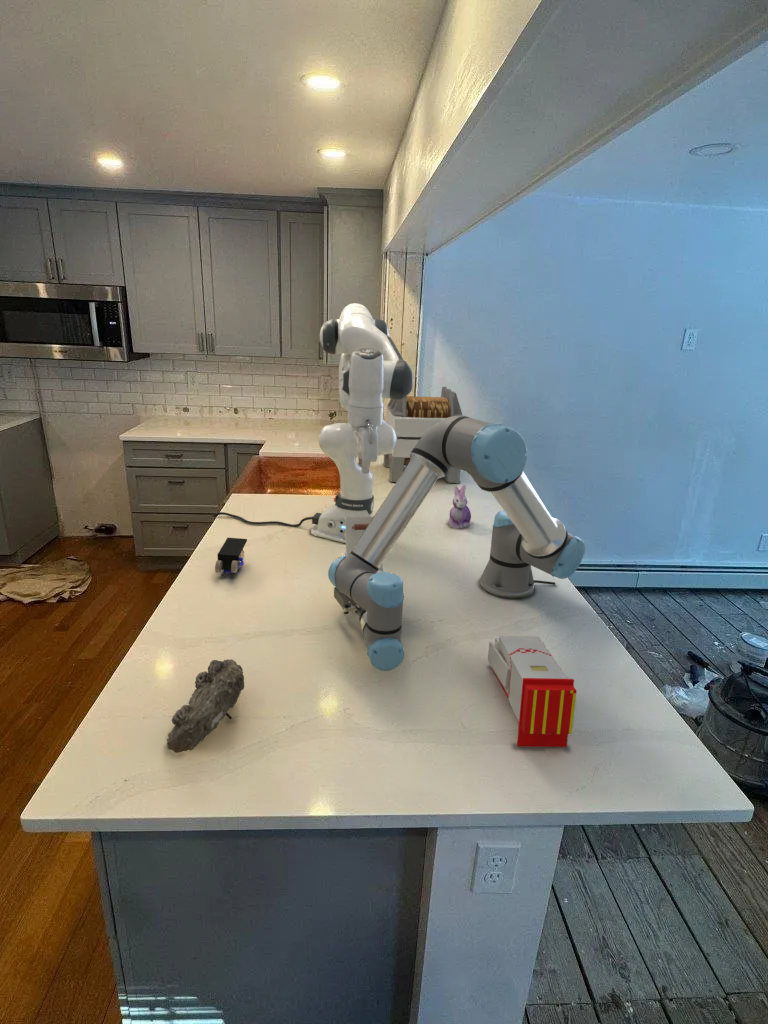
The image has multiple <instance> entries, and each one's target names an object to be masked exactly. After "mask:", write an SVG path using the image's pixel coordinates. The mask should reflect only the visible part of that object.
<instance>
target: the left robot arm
mask: <svg viewBox="0 0 768 1024" xmlns="http://www.w3.org/2000/svg"><path fill="white" fill-rule="evenodd" d="M319 343H320V345H321V347H322V350H323V351H324V352H325V353H327V354H328V355H329V354H330V355H336V354H337V355H338V354H339V355H340V356H339V357H340V358H339V366H338V393H339V394H338V395H339V396H338V397H339V405H340V407H341V408H342V409H343V410H344V411H346V412H347V422H337V423H330V424H327V425H323V427H322V429H321V430H320V432H319V435H318V445H319V447H320V450H321V451H322V452H323V454H325V455H326V456H327V457H329V458H330V459H331V460H332V462H333V463H334V464H335V466H336V467H337V470H338V474H339V483H340V484H339V485H340V488H339V489H340V490H339V491H338V492H337V494H336V495H335V496H334V497H333V502H334V504H333V505H331V506H329V507H328V508H326V509H325V510H323V512H316V513H315V514H314V515H313V516H307V517H305V518H302V519H300V522H299V523H297V524H290V523H287V522H283V521H279V520H277V521H276V520H275V521H274V520H271V521H251V520H247V519H245V518H243V517H241V516H239V515H236V514H232V513H229V512H224V511H221V512H216V513H215V514H214V515H213V516H212V517H213V518H216V517H217V516H220V515H221V516H222V515H224V516H227V517H231V518H234V519H235V518H236V519H239V520H240V521H242V522H243V523H245V524H249V525H282V526H285V527H293V528H298V527H301V525H303V523H304V522H305V521H308V520H309V521H310V520H311V524H312V525H313V526H312V528H311V530H310V533H311V536H315V537H319V538H323V539H326V540H330V541H336V542H339V543H343V544H346V532H345V517H373V516H374V513H373V512H374V509H375V496H374V474H373V472H372V471H371V469H370V467H371V463H375V462H377V460H378V457H380V456H384V455H385V454H389V453H391V452H392V451H393V450H394V448H395V446H396V442H397V437H396V433H395V431H394V429H393V428H392V427H391V426H390V425H389V424H387V423H386V420H384V400H383V399H390V400H391V399H396V400H402V399H403V398H405V397H406V396H409V394H410V393H411V392H412V390H413V385H414V374H413V370H412V368H411V366H410V365H409V363H408V362H407V361H405V360H404V357H403V356H402V355H401V353H400V351H399V349H398V347H397V346H396V343H394V340H393V339H392V338H391V336H390V330H389V327H388V325H387V323H386V321H385V320H383V319H380V318H376V317H375V318H373V316H372V314H371V312H370V310H369V309H368V308H367V307H366V306H365V305H363V304H362V303H359V302H358V303H357V302H356V303H355V302H353V303H349V304H347V305H346V306H345V307H344V308H343V309H342V310H341V312H340V315H339V318H337V319H336V318H334V317H333V318H331V319H329V320H325V322H323V323H322V325H321V327H320V330H319ZM357 459H358V460H357ZM357 461H358V462H357Z"/></svg>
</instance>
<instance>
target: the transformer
mask: <svg viewBox="0 0 768 1024" xmlns="http://www.w3.org/2000/svg"><path fill="white" fill-rule="evenodd" d="M440 393H441V394H440V396H415V395H414V396H413V395H412V396H411V395H407V396H406V397H405V398H403V399H402V400H396V399H390V400H389V402H388V404H387V405H386V413H385V414H386V415H385V422H386V423H387V424H389V425H390V426H391V427H392V428H393V429H394V431H395V433H396V437H397V442H396V446H395V448H394V450H393V451H392V452H391V453H389V454H385V455H383V466H384V467H388V468H389V475H388V476H389V477H388V478H389V480H390V482H391V483H396V482H397V481H398V479H399V477H400V476H401V474H402V473H403V471H404V469H405V466H407V465H408V464H409V462H410V453H411V451H412V450H413V448H414V447H415V445H416V444H417V443H418V441H419V440H420V439H421V438H422V436H423V435H424V434H425V433H426V432H427V431H428V430H429V429H431V428H432V427H433V426H434V425H436V424H437V423H439V422H440V421H442V420H444V419H446V418H448V417H452V416H459V415H460V416H463V411H462V408H461V405H460V402H459V398H458V395H457V392H455V391H453V390H452V389H451V388H447V386H442V387H441V392H440ZM461 472H462V470H461V469H458V468H455V467H452V468H450V469H449V470H448V472H447V473H446V475H445V476H444V477H443V478H444V479H445V481H446V482H447V483H449V484H455V483H456V484H459V483H461Z"/></svg>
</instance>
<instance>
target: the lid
mask: <svg viewBox="0 0 768 1024" xmlns="http://www.w3.org/2000/svg"><path fill="white" fill-rule="evenodd" d="M374 516H375V515H373V517H374ZM373 517H345V532H346V543H345V553H346V556H347V557H348V555H349V554H350V553H351V551H352V549H353V548H354V546H355V545H356V543H357V542H358V540H359V538H360V537H361V535H362V534H363V532H364V531H365V529H366V528H367V526H368V525H369V523H370V522H371V520H372V519H373ZM378 571H382V572H384V562H383V563H382V564H381V566H380V568H379V570H378Z"/></svg>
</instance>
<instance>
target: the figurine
mask: <svg viewBox="0 0 768 1024" xmlns="http://www.w3.org/2000/svg"><path fill="white" fill-rule="evenodd" d="M466 489H467V485H465V484H463V485H462V486H461V488H460V489H459V488H458V486H457V485H454V486H453V491H454V492H453V493H454V496H453V498H452V505H453V506H452V508H450V510H449V515H448V516H449V518H448V524H449V526H450V527H451V528H454V529H462V528H467V527H469V526H470V523H471V519H472V513H471V510H470V508H469V507H468V503H469V502H468V498H467V496H466Z"/></svg>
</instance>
